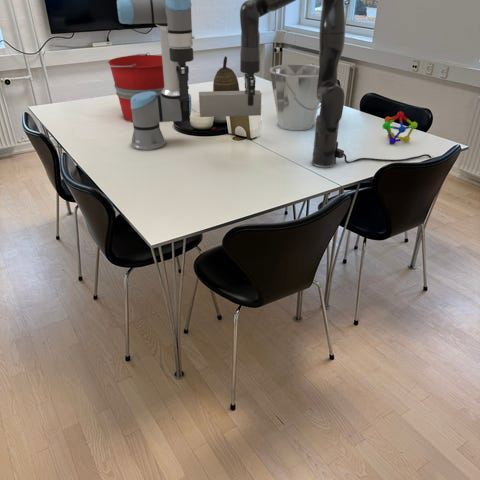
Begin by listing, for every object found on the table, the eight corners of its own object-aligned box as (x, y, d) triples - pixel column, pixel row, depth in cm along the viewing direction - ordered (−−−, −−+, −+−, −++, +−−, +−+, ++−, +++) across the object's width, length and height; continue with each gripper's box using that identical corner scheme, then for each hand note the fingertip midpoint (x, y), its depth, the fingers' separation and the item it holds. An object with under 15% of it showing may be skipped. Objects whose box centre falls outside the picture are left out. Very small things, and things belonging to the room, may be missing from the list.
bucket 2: (296, 138, 215) (301, 78, 201) (255, 124, 234) (256, 68, 219) (335, 125, 232) (342, 70, 217) (294, 113, 251) (297, 61, 236)
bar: (200, 117, 176) (199, 95, 172) (199, 113, 181) (198, 91, 176) (260, 115, 178) (261, 93, 174) (258, 111, 183) (259, 90, 179)
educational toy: (377, 146, 209) (379, 114, 202) (384, 138, 219) (386, 107, 211) (411, 149, 202) (415, 116, 195) (417, 141, 212) (420, 109, 204)
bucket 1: (122, 106, 262) (115, 52, 246) (181, 107, 261) (178, 52, 245) (105, 124, 232) (96, 64, 216) (172, 125, 231) (167, 64, 216)
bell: (227, 105, 294) (202, 96, 282) (238, 66, 289) (213, 55, 277) (243, 108, 280) (217, 98, 268) (255, 66, 275) (229, 55, 263)
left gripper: (195, 53, 130) (198, 125, 141) (191, 41, 150) (194, 104, 162) (169, 54, 129) (174, 126, 140) (168, 41, 150) (173, 105, 161)
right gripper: (262, 62, 164) (261, 108, 173) (257, 55, 176) (256, 98, 185) (242, 62, 163) (242, 108, 172) (238, 55, 175) (238, 99, 184)
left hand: (185, 114), depth 151 cm, fingers open, 13 cm apart
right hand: (249, 103), depth 178 cm, fingers closed on bar, 5 cm apart
